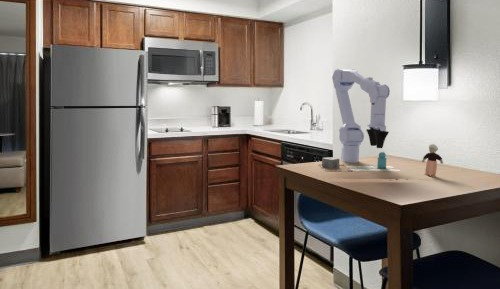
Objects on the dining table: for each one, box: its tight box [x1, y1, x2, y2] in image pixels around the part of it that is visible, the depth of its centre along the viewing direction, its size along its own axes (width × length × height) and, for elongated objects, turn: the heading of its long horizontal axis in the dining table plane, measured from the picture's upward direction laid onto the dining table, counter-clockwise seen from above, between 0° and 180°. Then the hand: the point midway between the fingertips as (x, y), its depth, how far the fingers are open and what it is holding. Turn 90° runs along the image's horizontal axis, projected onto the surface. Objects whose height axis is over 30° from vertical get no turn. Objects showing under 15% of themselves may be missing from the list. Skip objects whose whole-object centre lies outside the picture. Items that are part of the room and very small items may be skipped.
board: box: [318, 164, 401, 172], centre depth 161 cm, size 14×31×1 cm, turn 91°
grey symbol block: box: [321, 156, 340, 170], centre depth 163 cm, size 5×5×5 cm
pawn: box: [376, 151, 387, 169], centre depth 161 cm, size 3×3×7 cm
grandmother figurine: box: [421, 143, 444, 178], centre depth 151 cm, size 8×4×13 cm, turn 62°
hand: (376, 146), depth 162 cm, fingers open, 7 cm apart
